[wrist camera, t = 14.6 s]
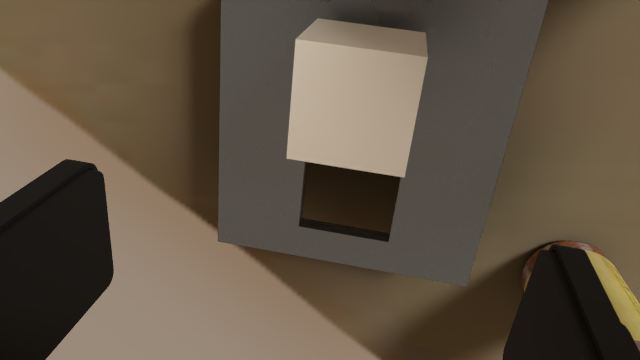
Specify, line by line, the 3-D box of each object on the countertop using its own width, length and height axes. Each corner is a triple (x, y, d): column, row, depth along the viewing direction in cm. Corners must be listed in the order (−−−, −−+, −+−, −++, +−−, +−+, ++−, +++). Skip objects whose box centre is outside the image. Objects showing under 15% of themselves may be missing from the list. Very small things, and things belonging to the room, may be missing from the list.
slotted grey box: (254, -47, 31) (221, -41, 26) (525, -14, 30) (548, -1, 24) (244, 198, 39) (217, 241, 34) (459, 235, 37) (466, 286, 32)
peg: (341, -4, 32) (295, 39, 20) (423, 6, 31) (427, 57, 19) (332, 76, 34) (286, 158, 22) (408, 87, 33) (404, 177, 21)
